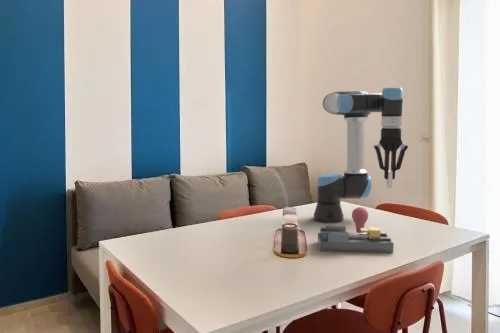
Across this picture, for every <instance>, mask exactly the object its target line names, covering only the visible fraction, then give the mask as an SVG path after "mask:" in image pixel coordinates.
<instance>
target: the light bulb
mask: <svg viewBox="0 0 500 333" xmlns="http://www.w3.org/2000/svg"><path fill="white" fill-rule="evenodd" d="M351 218H352V221H353V222H354V226H355V230H356V232H355V233H362V232H361V231H360V228H365V225H366V222H367V221H368V218H369V213H368V211H367V209H366V208H364V207H362V206H358V207H356V208H354V209H353V210H352V212H351Z"/></svg>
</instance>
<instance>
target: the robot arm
mask: <svg viewBox="0 0 500 333" xmlns="http://www.w3.org/2000/svg"><path fill="white" fill-rule="evenodd" d="M381 91H382V92H381V93H368V92H367V91H360V90H357V91H356V90H355V91H351V90H350V91H348V90H347V91H333V92H330V93H328V94H326V96H324V98H323V100H322V107H323V109H324V111H326V113H329V114H332V115H338V116H343V119H344V121H346V137H347V138H346V169H345V171H344V172H343V175H342V174H341V173H340V172H329V173H328V172H327V173H324V174H322V175H319V176H318V177H317V182H316V186H317V187H316V188H317V190H316V191H317V192H316V194H317V195H316V207H315V209H314V213H313V219H314V220H315V221H317V222H320V223H329V224H330V223H340V222H343V221H344V213H343V209H342V206H341V200H345V199H350V200H351V199H357V200H361V199H366V198H368V197H369V196H370V194H371V191H372V185H373V182H372V177H371V175H369V174H368V173H369V172H368V171H367V170H366V169H365V146H366V145H365V140H366V139H365V136H366V135H365V130H366V128H365V127H366V126H365V124H366V123H365V122H366V120H368V118H369V115H371V113H381V121H380V124H381V125H380V127H381V129H380V140H379V142H378V143H377V144H375V145H373V148H374V151H375V152H376V157H377V158H376V159H377V161H378V166H379V169H380V170H383V171H384V176H383V177H384V179H385V180H386V187H387V188H388V189H392V188H393V180H395V179H396V171H399V170H401V167H402V163H403V160H404V156H405V154H406V151H407V150H408V148H409V146H408V145H406V144H405V143H403V141H402V128H401V127H402V123H403V122H402V121H403V118H402V117H403V102H404V101H403V98H404V95H403V93H404V92H403V88H402V87H400V86H392V87H391V86H390V87H389V86H388V87H383V88H382V90H381ZM381 148H382V150H383V151H384V161H383V157H382V153H381V152H382V151H381ZM399 148H400V150H399ZM398 150H399V153H398V154H399V155H398V157H397V151H398ZM390 154H391V156H390ZM390 157H391V158H390Z"/></svg>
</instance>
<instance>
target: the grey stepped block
mask: <svg viewBox="0 0 500 333" xmlns="http://www.w3.org/2000/svg"><path fill="white" fill-rule="evenodd" d="M319 229H320V230H319V232H318V233H317V244H318V248H319V252H321V253H323V252H329V253H331V252H332V253H333V252H335V253H337V252H338V253H339V252H340V253H383V252H393V253H394V241H393V240H392V238H391V237H390V236H389V235H388V233H387V232H380V238H376V237H372V239H369V237H350V238H349V234H348V233H349V232H348V231H347V228H346V226H345V225H343V226H342V225H339V226H338V225H337V226H336V225H325V226H324V227H323V226H322V227H321V226H320V227H319Z"/></svg>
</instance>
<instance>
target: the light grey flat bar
mask: <svg viewBox="0 0 500 333" xmlns="http://www.w3.org/2000/svg"><path fill="white" fill-rule="evenodd" d="M348 234H349V238H350V237H369V235H368V233H357V232H348Z"/></svg>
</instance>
